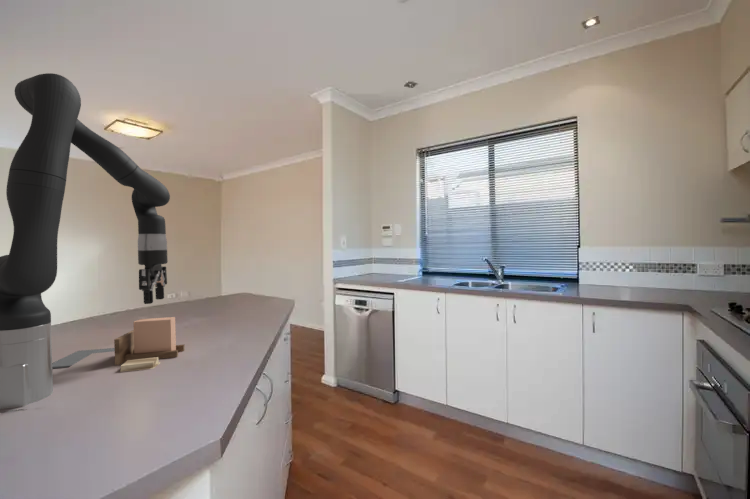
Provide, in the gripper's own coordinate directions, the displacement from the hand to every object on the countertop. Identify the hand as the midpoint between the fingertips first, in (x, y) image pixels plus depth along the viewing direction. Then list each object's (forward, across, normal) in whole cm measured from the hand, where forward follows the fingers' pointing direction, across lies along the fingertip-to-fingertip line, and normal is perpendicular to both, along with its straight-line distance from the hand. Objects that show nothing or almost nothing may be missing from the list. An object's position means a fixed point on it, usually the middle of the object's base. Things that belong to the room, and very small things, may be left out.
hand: (154, 301), depth 102 cm
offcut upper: (+17, -10, 0) cm, 19 cm away
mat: (+18, +6, +20) cm, 27 cm away
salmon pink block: (+18, 0, 0) cm, 18 cm away
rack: (+18, 0, 0) cm, 18 cm away
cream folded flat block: (+18, -10, 0) cm, 21 cm away
